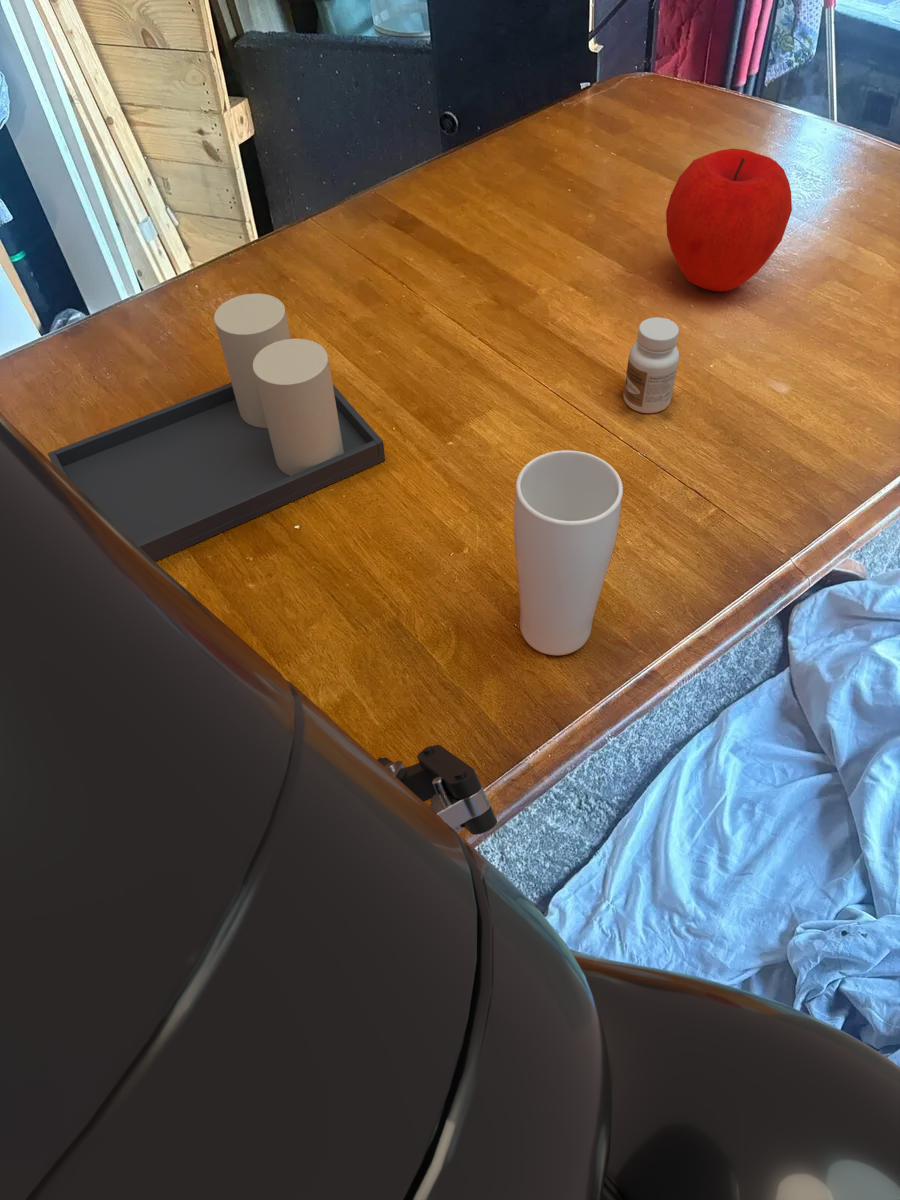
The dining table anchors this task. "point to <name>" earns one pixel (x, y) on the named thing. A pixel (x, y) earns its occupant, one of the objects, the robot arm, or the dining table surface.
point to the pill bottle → (652, 366)
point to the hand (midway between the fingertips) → (291, 818)
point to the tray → (200, 470)
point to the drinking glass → (563, 545)
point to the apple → (727, 217)
